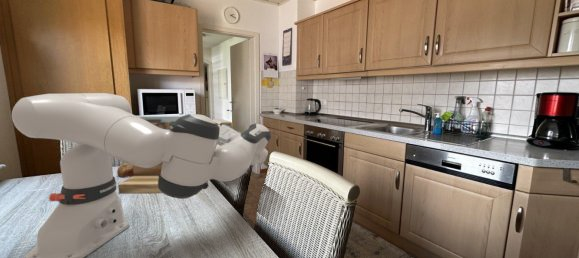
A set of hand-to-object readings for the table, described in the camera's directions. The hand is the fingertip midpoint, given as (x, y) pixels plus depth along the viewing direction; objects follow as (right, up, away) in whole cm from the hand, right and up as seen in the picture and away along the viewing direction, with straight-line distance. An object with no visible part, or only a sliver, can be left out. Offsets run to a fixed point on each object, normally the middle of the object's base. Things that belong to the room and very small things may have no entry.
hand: (206, 125), depth 109 cm
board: (-18, -26, -7) cm, 32 cm away
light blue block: (-20, +2, 0) cm, 20 cm away
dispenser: (-24, -24, +4) cm, 34 cm away
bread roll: (-39, -23, +10) cm, 47 cm away
